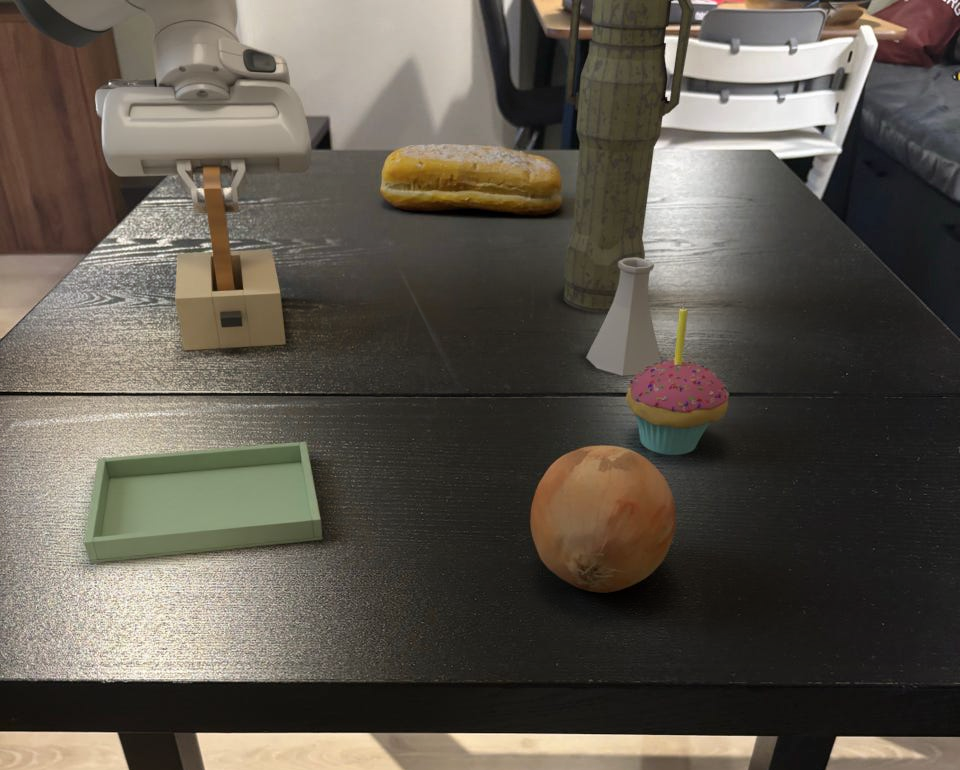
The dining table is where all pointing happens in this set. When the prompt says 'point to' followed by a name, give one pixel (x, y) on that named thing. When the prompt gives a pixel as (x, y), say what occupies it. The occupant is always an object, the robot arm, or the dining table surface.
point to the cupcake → (676, 400)
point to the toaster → (229, 302)
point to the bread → (470, 179)
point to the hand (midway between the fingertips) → (216, 209)
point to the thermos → (617, 137)
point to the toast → (218, 227)
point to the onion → (602, 518)
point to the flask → (627, 324)
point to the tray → (201, 502)
